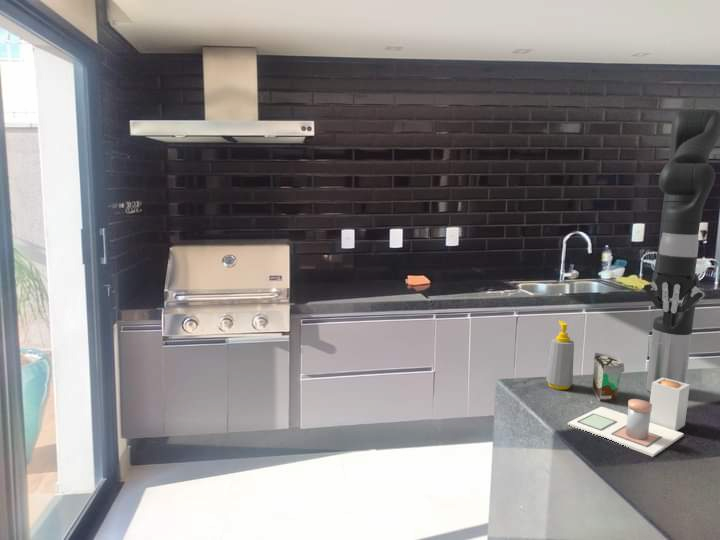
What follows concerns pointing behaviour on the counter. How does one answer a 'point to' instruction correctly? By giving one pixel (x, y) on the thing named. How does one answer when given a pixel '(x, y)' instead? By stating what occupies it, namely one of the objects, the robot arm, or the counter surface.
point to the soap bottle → (561, 361)
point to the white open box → (669, 404)
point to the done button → (671, 384)
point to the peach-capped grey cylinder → (638, 419)
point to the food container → (606, 376)
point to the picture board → (615, 429)
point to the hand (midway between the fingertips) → (669, 327)
